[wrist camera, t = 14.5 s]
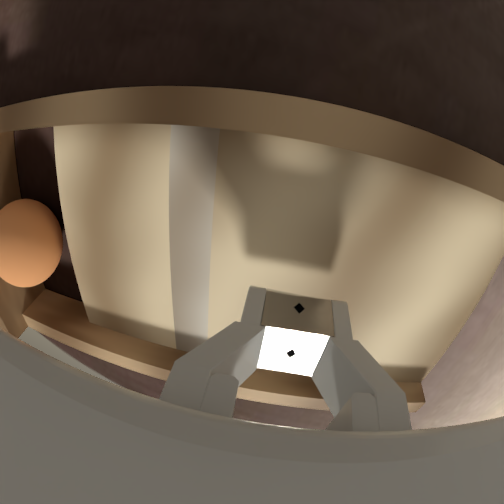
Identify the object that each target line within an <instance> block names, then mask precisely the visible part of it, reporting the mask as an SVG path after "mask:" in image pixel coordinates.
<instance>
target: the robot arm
mask: <svg viewBox="0 0 504 504" xmlns="http://www.w3.org/2000/svg"><path fill="white" fill-rule="evenodd" d="M257 368H260V369H267V370H274V371H282V372H284V371H285V372H288V373H294V374H300V375H307V376H312V377H311V378H312V380H313V381H314V383H315V385H316V387H317V388H318V390H319V392H320V393H321V395H322V397H323V399H324V400H325V402H326V404H327V406H328V407H329V409H330V411H331V412H332V414H333V416H334V419H333V421H332V422H331V423H330V424H329V425H328V427H327V428H326V429H325V430H318V429H306V428H296V427H287V426H279V425H272V424H265V423H258V422H252V421H246V420H241V419H235V418H233V414H234V408H235V403H236V397H237V391H238V387H239V386H240V385H241V384H242V383H243V382H244V381H245V380H246V379H247V378H248V377H249V376H250V375H251V374H252V373H253V372H254V371H255V370H256V369H257ZM0 504H504V416H503V417H499V418H495V419H490V420H485V421H480V422H474V423H469V424H462V425H456V426H448V427H440V428H430V429H419V430H412V428H411V422H410V416H409V410H408V405H407V399H406V394H405V392H404V391H403V390H402V389H401V388H400V387H399V386H398V384H397V383H396V382H395V381H394V380H393V379H392V378H391V377H390V375H389V374H388V373H387V372H386V371H385V370H384V369H383V368H382V367H381V365H380V364H379V363H378V362H377V361H376V360H375V359H374V358H373V357H372V355H371V354H370V353H369V352H368V351H367V350H366V349H365V348H364V347H363V346H362V344H361V343H360V342H359V341H358V340H353V334H352V328H351V322H350V315H349V310H348V304H347V302H346V301H339V300H331V299H330V300H328V299H321V298H315V297H309V296H303V295H298V294H293V293H288V292H283V291H278V290H273V289H268V288H267V291H266V288H262V287H257V286H252V285H250V287H249V289H248V293H247V297H246V301H245V305H244V309H243V313H242V317H241V321H240V322H238V321H235V322H233V323H232V324H230V325H229V326H227V327H226V328H224V329H223V330H221V331H220V332H218V333H217V334H215V335H214V336H212V337H211V338H209V339H208V340H206V341H205V342H203V343H202V344H200V345H199V346H197V347H196V348H194V349H193V350H191V351H190V352H188V353H187V354H185V355H183V356H182V357H180V358H179V359H177V360H176V361H175V362H174V364H173V367H172V369H171V372H170V374H169V376H168V379H167V381H166V384H165V386H164V388H163V391H162V393H161V396H160V398H159V399H156V398H152V397H149V396H146V395H143V394H140V393H137V392H134V391H131V390H129V389H126V388H123V387H120V386H118V385H115V384H112V383H110V382H107V381H105V380H102V379H100V378H97V377H95V376H92V375H90V374H88V373H85V372H83V371H81V370H79V369H76V368H74V367H72V366H70V365H67V364H65V363H63V362H61V361H59V360H57V359H55V358H53V357H51V356H49V355H47V354H45V353H43V352H41V351H40V350H38V349H36V348H34V347H32V346H30V345H28V344H26V343H25V342H23V341H21V340H19V339H18V338H16V337H15V336H13V335H11V334H10V333H8V332H6V331H5V330H3V329H1V328H0Z"/></svg>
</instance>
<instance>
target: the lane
mask: <svg viewBox="0 0 504 504" xmlns="http://www.w3.org/2000/svg"><path fill="white" fill-rule="evenodd" d="M53 126H54V146H55V160H56V171H57V180H58V188H59V196H60V203H61V209H62V215H63V221H64V226H65V232H66V237H67V241H68V246H69V251H70V255H71V259H72V263H73V268H74V271H75V275H76V279H77V283H78V286H79V290H80V293H81V297H82V300H83V302H81V301H78V300H75V299H72V298H69V297H66V296H64V295H61V294H58V293H55V292H53V291H50V290H47V289H45V286H44V284H43V282H42V283H40V284H38V285H36V286H32V287H17V286H14V285H11V284H9V283H8V282H6V281H5V280H3V279H2V278H1V277H0V328H1V329H3V330H5V331H6V332H8V333H10V334H11V335H13V336H15V337H16V338H19V337H20V336H21V334H22V333H23V332H24V331H25V329H26V328H27V327H28V326H29V327H30V328H32V329H34V330H36V331H38V332H40V333H42V334H44V335H47V336H49V337H51V338H53V339H55V340H57V341H59V342H62V343H64V344H66V345H68V346H71V347H73V348H75V349H78V350H80V351H82V352H85V353H87V354H90V355H92V356H95V357H97V358H100V359H102V360H105V361H108V362H110V363H113V364H116V365H119V366H122V367H124V368H127V369H130V370H133V371H136V372H139V373H142V374H146V375H149V376H152V377H155V378H159V379H162V380H165V381H167V379H168V376H169V374H170V372H171V369H172V367H173V364H174V362H175V361H176V360H177V359H179V358H180V357H182V356H183V355H185V354H187V353H188V352H190V351H191V350H193V349H194V348H196V347H197V346H199V345H200V344H202V343H203V342H205V341H206V340H208V339H209V338H211V337H212V336H214V335H215V334H217V333H218V332H220V331H221V330H223V329H224V328H226V327H227V326H229V325H230V324H232V323H233V322H235V321H238V322H240V321H241V317H242V313H243V309H244V305H245V301H246V297H247V293H248V289H249V287H250V285H252V286H257V287H262V288H266V291H267V288H268V289H273V290H278V291H283V292H288V293H293V294H298V295H303V296H309V297H315V298H321V299H328V300H330V299H331V300H339V301H346V302H347V304H348V310H349V315H350V322H351V328H352V334H353V340H358V341H359V342H360V343H361V344H362V346H363V347H364V348H365V349H366V350H367V351H368V352H369V353H370V354H371V355H372V357H373V358H374V359H375V360H376V361H377V362H378V363H379V364H380V365H381V367H382V368H383V369H384V370H385V371H386V372H387V373H388V374H389V375H390V377H391V378H392V379H393V380H394V381H395V382H396V383H397V384H398V386H399V387H400V388H401V389H402V390H403V391H404V392H405V394H406V399H407V405H408V410H409V412H416V411H417V410H419V409H420V408H421V407H422V406H423V405H424V404H425V398H424V393H423V389H422V385H421V382H422V380H423V379H424V378H425V377H426V376H427V374H428V373H429V372H430V371H431V369H432V368H433V367H434V366H435V364H436V363H437V362H438V361H439V359H440V358H441V357H442V355H443V354H444V353H445V351H446V350H447V349H448V347H449V346H450V344H451V343H452V342H453V340H454V339H455V337H456V336H457V335H458V333H459V332H460V330H461V329H462V327H463V326H464V324H465V323H466V321H467V320H468V318H469V316H470V315H471V313H472V312H473V310H474V308H475V307H476V305H477V303H478V302H479V300H480V298H481V297H482V295H483V293H484V291H485V290H486V288H487V286H488V284H489V282H490V281H491V279H492V277H493V275H494V273H495V271H496V269H497V267H498V265H499V263H500V261H501V259H502V257H503V255H504V166H503V165H501V164H499V163H498V162H496V161H494V160H492V159H490V158H488V157H486V156H484V155H481V154H479V153H477V152H475V151H473V150H471V149H469V148H466V147H464V146H462V145H459V144H457V143H455V142H452V141H450V140H448V139H445V138H443V137H440V136H438V135H435V134H432V133H430V132H427V131H424V130H422V129H419V128H416V127H413V126H410V125H407V124H404V123H401V122H398V121H395V120H392V119H388V118H385V117H382V116H378V115H375V114H371V113H368V112H364V111H360V110H356V109H352V108H348V107H344V106H340V105H335V104H331V103H326V102H322V101H317V100H312V99H306V98H301V97H295V96H289V95H282V94H276V93H268V92H260V91H252V90H242V89H231V88H218V87H199V86H140V87H122V88H109V89H98V90H89V91H81V92H74V93H67V94H61V95H55V96H49V97H44V98H39V99H34V100H29V101H25V102H21V103H16V104H12V105H9V106H5V107H1V108H0V210H1V209H2V208H3V207H4V206H6V205H7V204H9V203H11V202H13V201H15V200H19V199H21V193H20V187H19V181H18V173H17V166H16V157H15V146H14V131H17V130H24V129H32V128H42V127H53ZM311 377H312V376H307V375H300V374H294V373H288V372H285V371H284V372H282V371H274V370H267V369H260V368H257V369H256V370H255V371H254V372H253V373H252V374H251V375H250V376H249V377H248V378H247V379H246V380H245V381H244V382H243V383H242V384H241V385H240V386H239V387H238V391H237V397H236V398H241V399H246V400H252V401H257V402H263V403H270V404H276V405H283V406H291V407H299V408H308V409H318V410H330V409H329V407H328V406H327V404H326V402H325V400H324V399H323V397H322V395H321V393H320V392H319V390H318V388H317V387H316V385H315V383H314V381H313V380H312V378H311Z"/></svg>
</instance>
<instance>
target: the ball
mask: <svg viewBox="0 0 504 504" xmlns="http://www.w3.org/2000/svg"><path fill="white" fill-rule="evenodd" d="M62 248H63V237H62V231H61V227H60V225H59V222H58V220H57V218H56V217H55V215H54V214H53V212H52V211H51V210H50V209H49V208H48V207H47V206H45V205H44V204H42V203H41V202H39V201H36V200H32V199H19V200H15V201H13V202H11V203H9V204H7V205H6V206H4V207H3V208H2V209H1V210H0V277H1V278H2V279H3V280H5V281H6V282H8V283H9V284H11V285H14V286H17V287H32V286H36V285H38V284H40V283H42V282H43V281H45V280H46V279H48V278H49V277H50V275H51V274H52V273H53V272H54V271H55V269H56V267H57V265H58V263H59V261H60V258H61V254H62Z"/></svg>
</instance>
